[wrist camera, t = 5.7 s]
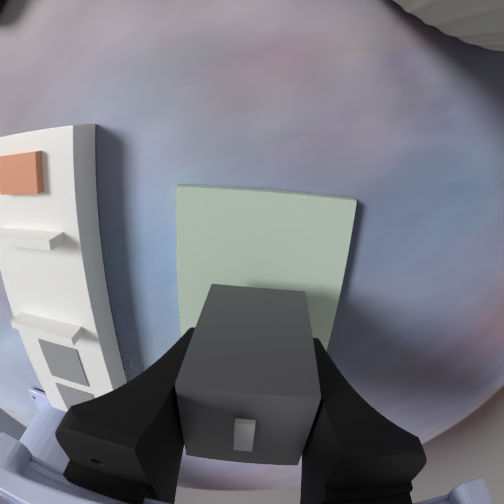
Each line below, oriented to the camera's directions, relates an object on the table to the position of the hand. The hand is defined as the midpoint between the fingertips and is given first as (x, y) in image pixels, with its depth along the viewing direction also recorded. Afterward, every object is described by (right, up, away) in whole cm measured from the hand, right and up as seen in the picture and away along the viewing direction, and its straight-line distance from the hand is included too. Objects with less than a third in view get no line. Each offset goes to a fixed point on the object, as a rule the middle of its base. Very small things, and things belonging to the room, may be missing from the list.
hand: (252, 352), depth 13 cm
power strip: (-12, +1, +4) cm, 13 cm away
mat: (0, +1, +4) cm, 4 cm away
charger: (0, +1, +1) cm, 2 cm away
